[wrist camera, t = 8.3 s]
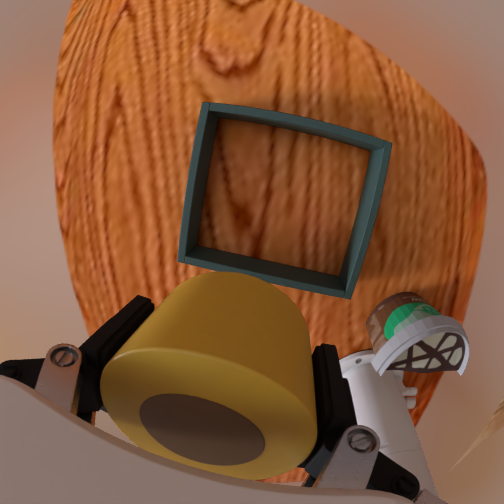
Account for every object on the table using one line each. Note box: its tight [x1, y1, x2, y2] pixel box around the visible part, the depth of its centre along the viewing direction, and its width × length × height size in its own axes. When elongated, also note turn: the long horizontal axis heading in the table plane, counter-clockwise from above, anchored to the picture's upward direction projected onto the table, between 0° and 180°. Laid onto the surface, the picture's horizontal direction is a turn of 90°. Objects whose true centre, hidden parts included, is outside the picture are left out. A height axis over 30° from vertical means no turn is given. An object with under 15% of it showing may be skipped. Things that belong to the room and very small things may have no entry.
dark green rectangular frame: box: [177, 102, 392, 299], centre depth 25 cm, size 18×16×4 cm
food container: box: [366, 292, 470, 376], centre depth 24 cm, size 12×6×10 cm, turn 81°
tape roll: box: [100, 272, 317, 480], centre depth 9 cm, size 7×7×5 cm
